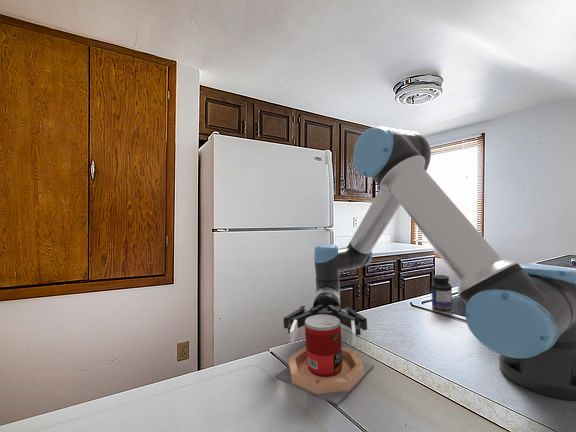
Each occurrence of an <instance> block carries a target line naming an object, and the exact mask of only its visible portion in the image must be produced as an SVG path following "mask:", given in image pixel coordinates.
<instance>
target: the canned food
mask: <svg viewBox="0 0 576 432" xmlns="http://www.w3.org/2000/svg"><path fill="white" fill-rule="evenodd" d="M304 333H305V334H304V335H305V337H304V338H305V346H306V353H307V366H308V369H309V371H310V372H311V373H313V374H314V375H316V376H320V377H331V376H335V375H337V374H338V373H340V371H341V369H342V330H341V323H340V320H339V319H338V318H337V317H335V316H331V315H324V314H321V315H313V316H310V317H308V318H307V319H306V320H305V325H304Z"/></svg>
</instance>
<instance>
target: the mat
mask: <svg viewBox="0 0 576 432" xmlns="http://www.w3.org/2000/svg"><path fill="white" fill-rule="evenodd" d="M361 362H362V363H363V365H364V376H363V377H362V378H361V379H360V380H359V381H358V382H357V383H356V384H355V385H354V386H353V387H352V388H351V390H350V391H341V392H332V393H323V394H316V393H314V392H311V391H309V390H307V389H305V388H303V387H300V386H298V385H296V384H294V383H292V381H291V375H290V369H289V365H288V366H287V367H285V368H284V369H282V370H281V371H280V372H278V373H277V374H275V378H277V379H279V380H282V381H283V382H286V383H289V384H290V385H292V386H294V387H297V388H298V389H301V390H303V391H305V392H308V393H310V394H311V395H315V397H316V396H317V397H318V398H320V399H323V400H325V401H327V402H329V403H331V404H334V405H336V406H339V405H340V403H341V402H342V401H344V399H345V398H346V397H347V396H348V395H349V394H350V393H351V392H352V390H354V388H355V387H356V386H357V385H358V384H359V383H360V382H361V381H362V380H363V379H364V378H365V376H367V374H368V373H370V371H371V370H372V369H373V368H374V364H371V363H368V362H367V361H362V360H361Z"/></svg>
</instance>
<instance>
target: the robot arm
mask: <svg viewBox="0 0 576 432" xmlns="http://www.w3.org/2000/svg"><path fill="white" fill-rule="evenodd" d="M431 157H432V152H431V147H430V144H429V142H428V140H427V139H426V138H425V137H424V136H423V135H421V134H420V133H419V132H416V131H412V130H403V129H396V128H391V127H387V126H374V127H370V128H368V129H365V130H364V131H363V132H362V133H361V134H360V135H359V137H358V138H357V140H356V142H355V144H354V147H353V154H352V162H353V166H354V168H355V170H356V172H357V173H358V174H359V175H361V176H362V177H365V178H372V179H373V180H374V182H375V183H376V185H378V187H379V190H378V191H377V193H376V195H375V197H374V198H373V200H372V202H371V204H370V205H369V208H368V209H367V211H366V213H365V215H364V216H363V218H362V221H360V223H359V225H358V227H357V228H356V231H355V232H354V234H353V236H352V238H351V239H350V242H349V243H348V245H347V246H346V247H341V248H339V247H338V245H336V244H331V243H329V244H328V243H327V244H318V245H317V246H315V247H314V255H313V256H314V257H313V260H314V269H315V291H316V293H315V296H314V300H313V303H312V306H311V307H310V308H307V307H306V306H305V305H302V306H300V307H299V308H298V309H297V310H294V311H293V312H291V313H289V314H288V315H286V316H284V317H283V320H282V321H283V328H284V329H287V333H288V334H289V342H290V344H294V343H295V342H296V341H295V340H296V337H297V334H298V332H299V328H301V327H305V320H306V319H307V318H308V317H310V316H313V315H321V314H324V315H331V316H335V317H337V318H338V319H339V320H340V325H343V326H345V327H348V328H349V329H351V339H352V345H353V346H357V336H360V335H361V334H362V333H361V332H362V331H361V329H362V330H363V331H367V330H368V319H367V318H366V317H364V316H363V315H361V314H360V313H359V312H357V311H356V310H354V309H353V308H352V306H346V307H345V308H341V286H340V273H341V272H345V271H350V270H354V269H355V270H356V269H359V268H360V269H361V268H364V267H365V266H367V265H369V264H370V263H371V262H372V260H373V252H372V251H373V249H374V247H375V246H376V245H377V243H378V242H379V240H380V238H381V237H382V235H383V233H384V232H385V230H386V229H387V227H388V226H389V224H390V223H391V221H392V219H393V218H394V217H395V215H396V213H397V212H398V210H399V209H400V207H403V208H402V209H404V211H406V213H407V214H408V216H409V217H410V218H411V220H412V221H413V222H414V224H415V225H416V226H417V227H418V229H419V230H420V232H421V234H423V235H424V237H425V238H426V240H427V241H428V243H429V244H430V245H431V246H432V248H433V249H434V250H435V252H436V253H437V255H438V256H439V257H440V258H441V260H442V261H443V262H444V263H445V265H446V266H447V268H448V269H449V270H450V271H451V273H452V274H453V276H454V277H455V278H456V279H457V281H458V287H457V294H458V296H459V297H460V299H461V300H462V301H463V302H464V305H466V306H465V316H464V317H465V321H466V324H467V327H468V329H469V331H470V332H471V333H472V335H473V337H475V338H476V339H477V341H478V342H479V343H480V344H482V345H483V346H484V347H485V348H487V349H489V350H490V351H492V352H495V353H498V354H499V357H498V358H499V361H498V364H499V369H501V370H500V372H501V373H502V372H503V373H504V374H505V375H506V376H507V377H508V378H507V377H506V376H505V375H504V374H503V373H502V374H503V375H504V376H505V377H506V378H507V379H509V380H510V381H512V382H513V383H515V384H516V383H517V385H518V384H519V385H518V386H520V385H521V386H520V387H522V386H523V388H524V387H525V388H524V389H527V390H529V391H532V392H534V393H537V394H539V393H540V395H543V396H547V397H550V398H556V399H560V400H566V401H567V400H569V401H576V270H574V269H572V268H565V267H559V266H551V265H540V264H530V263H519V262H518V261H516V260H515V261H514V260H510V259H504V258H503V257H501V256H500V255H499V253H497V252H496V250H495V249H494V248H493V247H492V246H491V244H490V243H489V242H488V241H487V240H486V238H485V237H483V235H482V234H481V233H480V232H479V230H477V228H476V227H475V226H474V225H473V224H472V222H471V221H470V220H469V219H468V218H467V217H466V216H465V214H463V212H462V211H461V210H460V209H459V207H457V205H456V204H455V203H454V201H452V199H451V198H450V197H449V196H448V195H447V194H446V192H445V191H444V190H443V189H442V188H441V187H440V186H439V184H438V183H437V182H436V181H435V180H434V179H433V177H432V176H431V175H430V174H429V172H428V171H427V170H428V169H429V165H430V163H431Z"/></svg>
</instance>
